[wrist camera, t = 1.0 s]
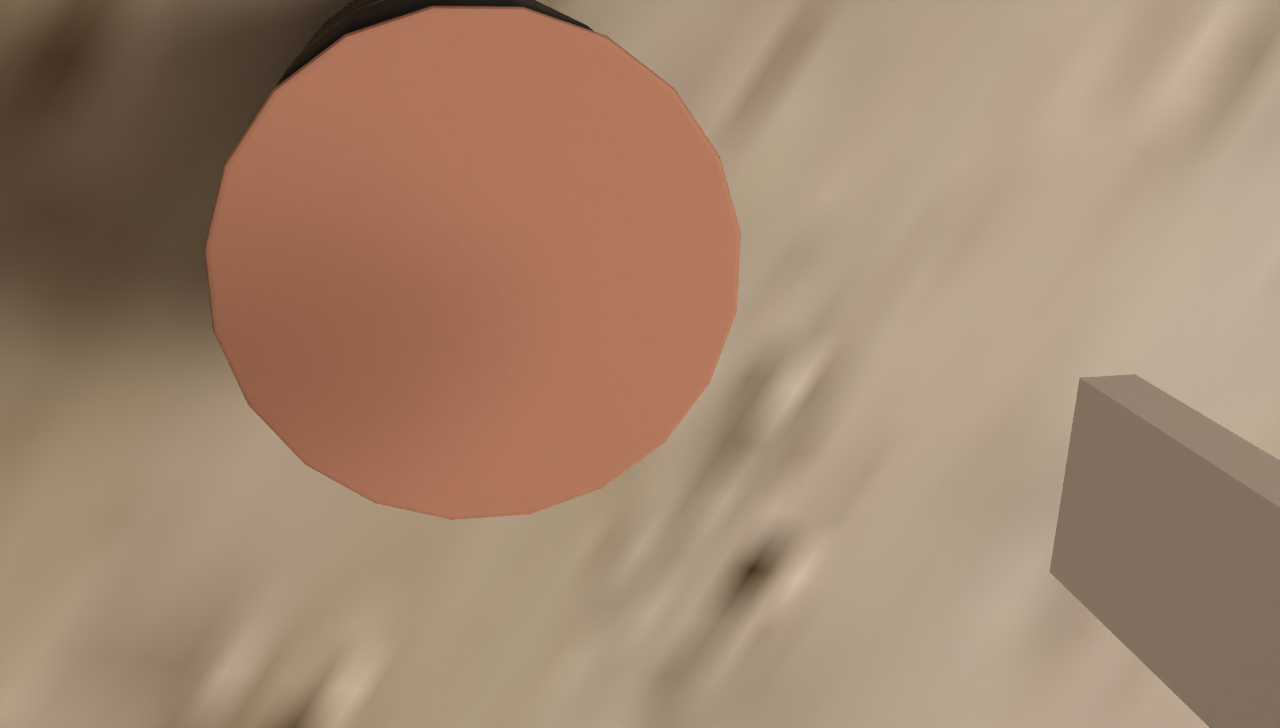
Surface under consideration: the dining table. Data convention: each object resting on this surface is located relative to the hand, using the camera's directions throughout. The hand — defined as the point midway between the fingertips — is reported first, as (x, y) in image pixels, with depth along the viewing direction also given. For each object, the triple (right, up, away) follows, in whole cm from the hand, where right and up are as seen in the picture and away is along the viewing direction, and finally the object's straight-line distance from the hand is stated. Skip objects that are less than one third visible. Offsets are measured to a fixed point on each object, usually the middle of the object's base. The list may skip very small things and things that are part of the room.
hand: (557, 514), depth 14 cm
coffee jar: (-6, +9, +26) cm, 29 cm away
